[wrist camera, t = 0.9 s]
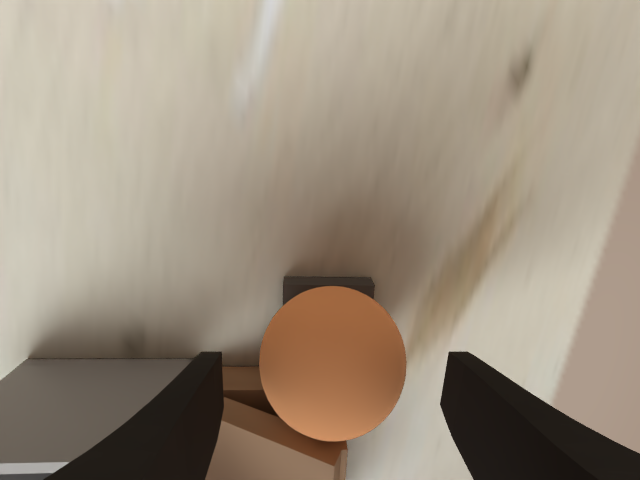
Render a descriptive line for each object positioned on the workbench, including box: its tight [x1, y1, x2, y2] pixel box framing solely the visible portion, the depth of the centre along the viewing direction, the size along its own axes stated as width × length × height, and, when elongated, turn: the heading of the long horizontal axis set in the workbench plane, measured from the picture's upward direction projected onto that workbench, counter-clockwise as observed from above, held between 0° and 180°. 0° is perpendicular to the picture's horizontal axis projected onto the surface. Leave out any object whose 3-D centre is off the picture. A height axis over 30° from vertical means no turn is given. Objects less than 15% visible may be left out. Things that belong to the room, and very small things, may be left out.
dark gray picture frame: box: [283, 277, 375, 305], centre depth 15 cm, size 4×4×1 cm
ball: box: [259, 286, 406, 441], centre depth 12 cm, size 5×5×5 cm
